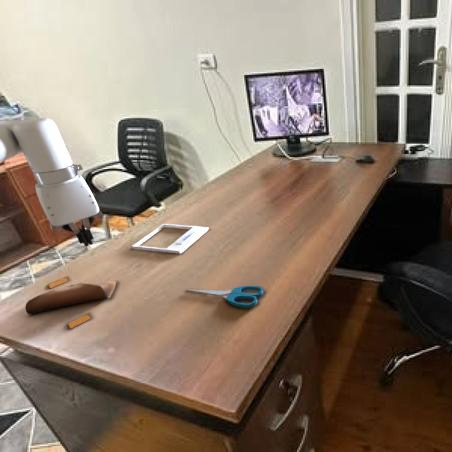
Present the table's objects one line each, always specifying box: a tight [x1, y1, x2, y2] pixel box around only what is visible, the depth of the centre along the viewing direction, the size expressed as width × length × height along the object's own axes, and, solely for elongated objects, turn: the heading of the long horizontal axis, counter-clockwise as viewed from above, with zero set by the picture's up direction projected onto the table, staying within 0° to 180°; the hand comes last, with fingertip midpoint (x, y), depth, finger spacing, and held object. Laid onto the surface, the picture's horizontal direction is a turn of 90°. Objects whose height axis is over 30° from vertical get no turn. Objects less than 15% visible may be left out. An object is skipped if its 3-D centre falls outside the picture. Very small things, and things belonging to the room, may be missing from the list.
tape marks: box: [48, 277, 91, 330], centre depth 89 cm, size 4×25×1 cm, turn 46°
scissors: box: [186, 285, 264, 309], centre depth 86 cm, size 7×1×20 cm
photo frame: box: [131, 223, 210, 254], centre depth 113 cm, size 15×1×18 cm
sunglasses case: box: [25, 280, 117, 315], centre depth 88 cm, size 18×7×7 cm
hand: (88, 243), depth 88 cm, fingers closed
